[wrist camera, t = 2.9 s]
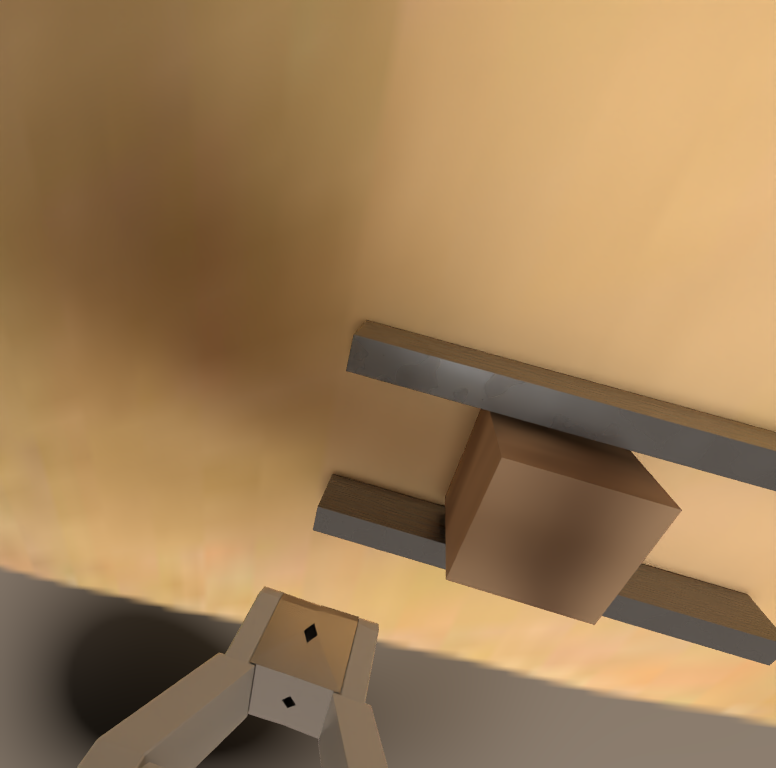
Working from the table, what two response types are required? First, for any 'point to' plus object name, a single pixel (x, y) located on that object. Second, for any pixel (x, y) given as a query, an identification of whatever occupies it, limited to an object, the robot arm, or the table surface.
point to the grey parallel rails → (578, 417)
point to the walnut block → (550, 517)
